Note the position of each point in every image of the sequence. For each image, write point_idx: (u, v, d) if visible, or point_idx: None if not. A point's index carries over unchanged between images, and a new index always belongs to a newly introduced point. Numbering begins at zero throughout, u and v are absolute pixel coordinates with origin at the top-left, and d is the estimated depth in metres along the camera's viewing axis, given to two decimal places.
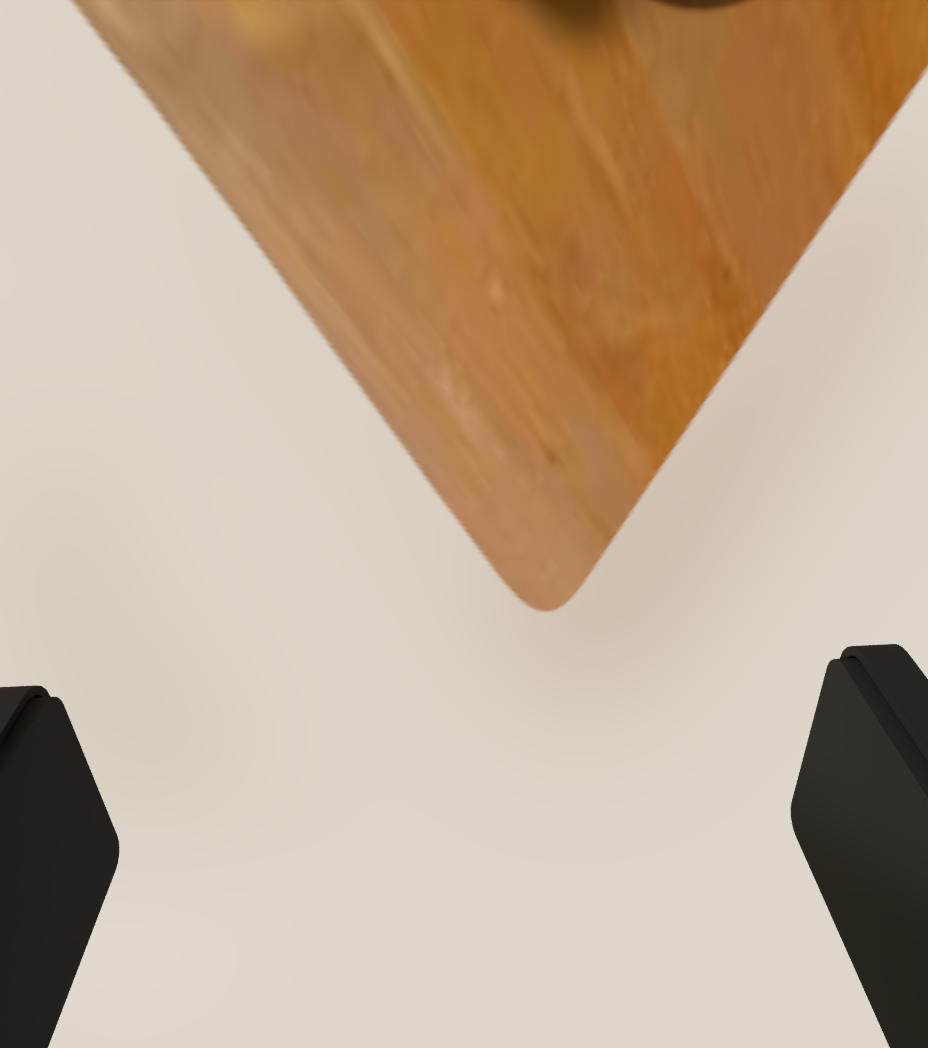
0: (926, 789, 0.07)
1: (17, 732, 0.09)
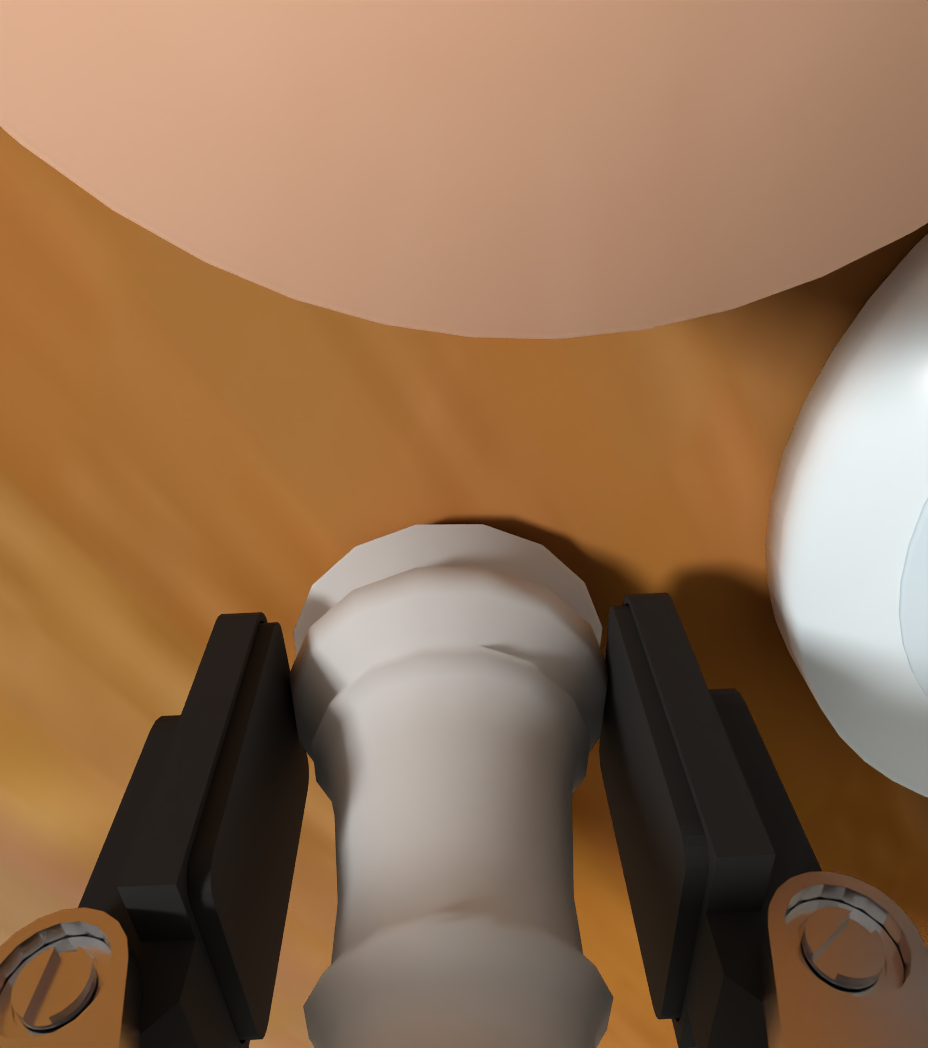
0: (648, 711, 0.08)
1: (258, 650, 0.10)
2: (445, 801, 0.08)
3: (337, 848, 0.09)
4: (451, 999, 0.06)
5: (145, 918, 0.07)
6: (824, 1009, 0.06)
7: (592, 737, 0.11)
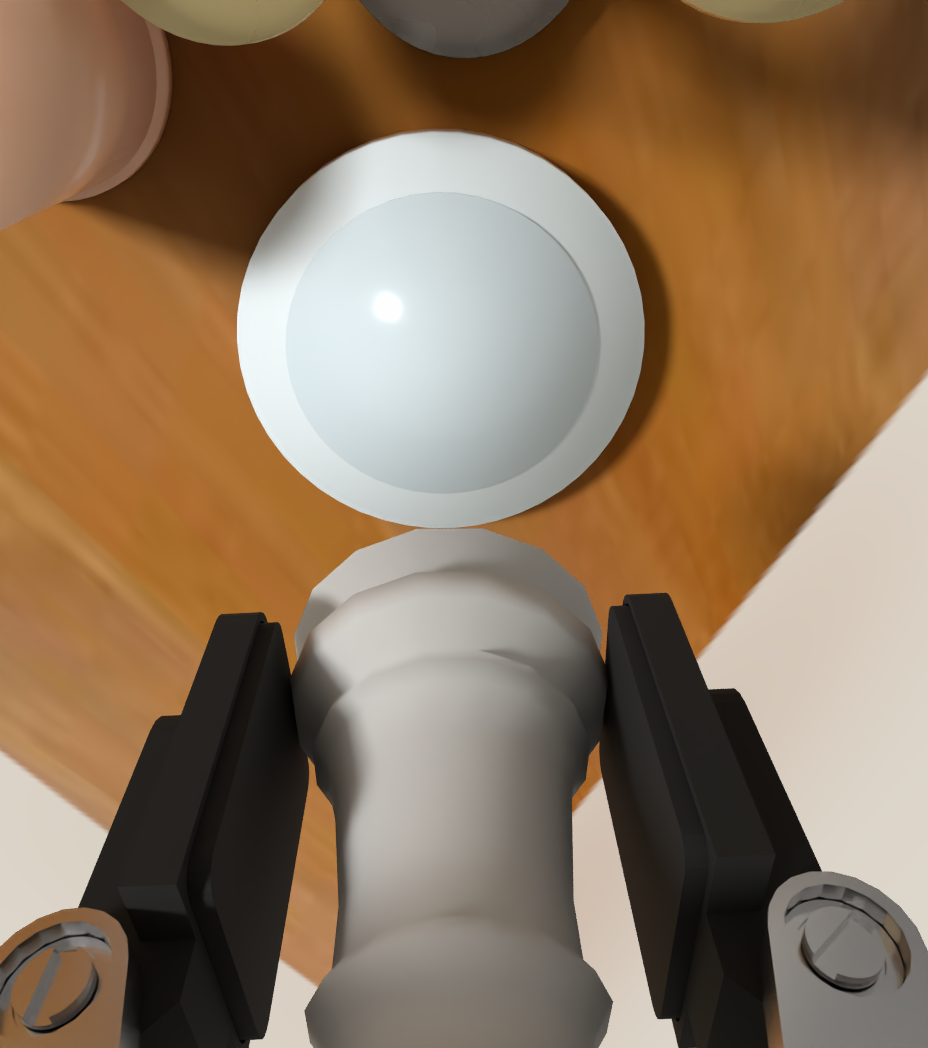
0: (647, 711, 0.08)
1: (258, 649, 0.10)
2: (445, 805, 0.08)
3: (338, 852, 0.09)
4: (452, 1002, 0.06)
5: (145, 918, 0.07)
6: (824, 1009, 0.06)
7: (592, 741, 0.11)
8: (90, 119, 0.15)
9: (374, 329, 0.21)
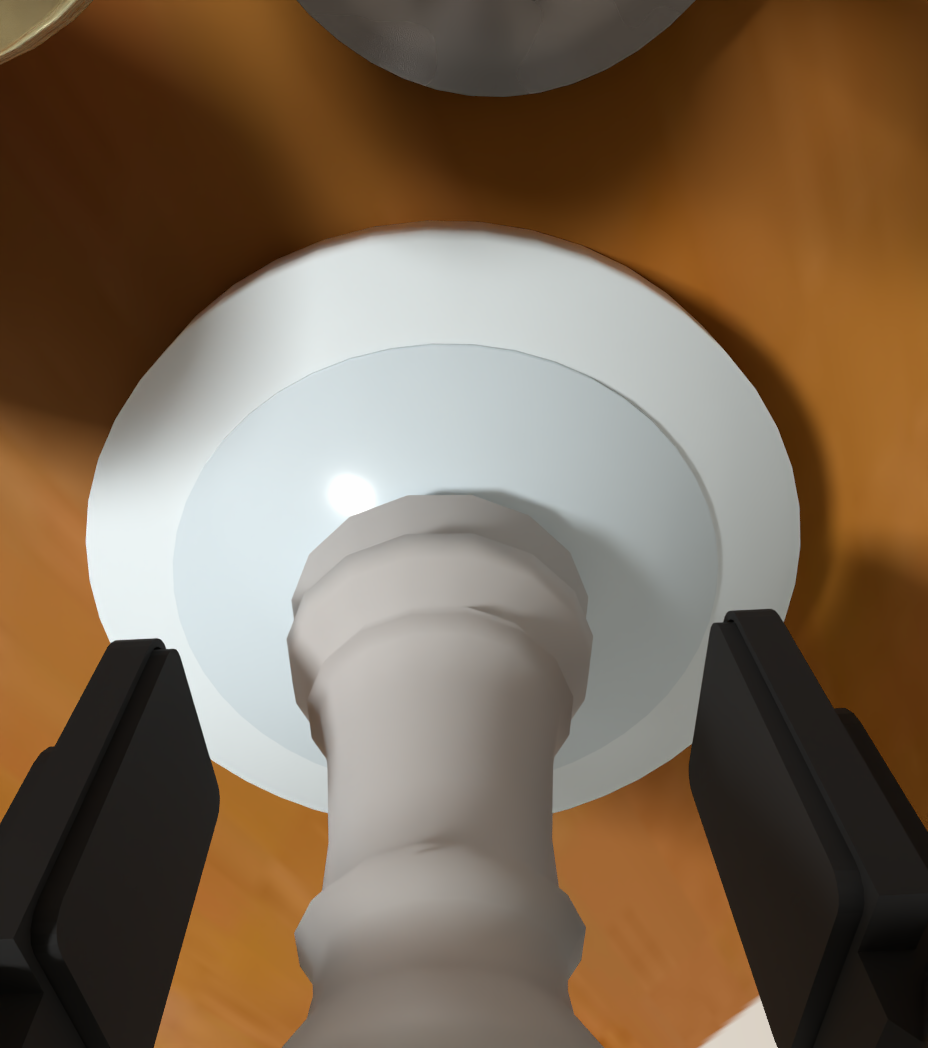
0: (774, 735, 0.08)
1: (147, 678, 0.09)
2: (429, 747, 0.08)
3: (328, 795, 0.09)
4: (429, 918, 0.07)
5: None
6: None
7: (576, 699, 0.11)
8: None
9: None
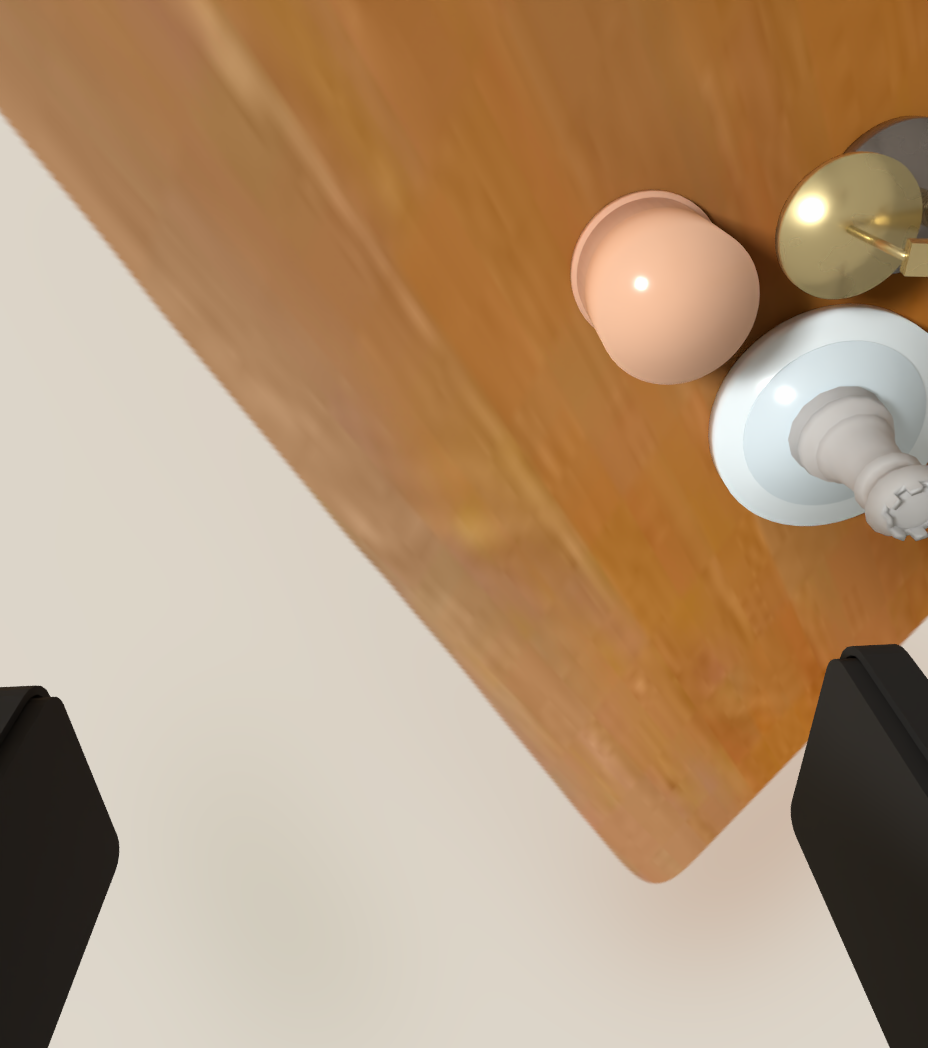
0: (926, 789, 0.08)
1: (17, 732, 0.09)
2: (878, 440, 0.34)
3: (843, 459, 0.34)
4: (900, 463, 0.32)
5: None
6: None
7: None
8: None
9: None
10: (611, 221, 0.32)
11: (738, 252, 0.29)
